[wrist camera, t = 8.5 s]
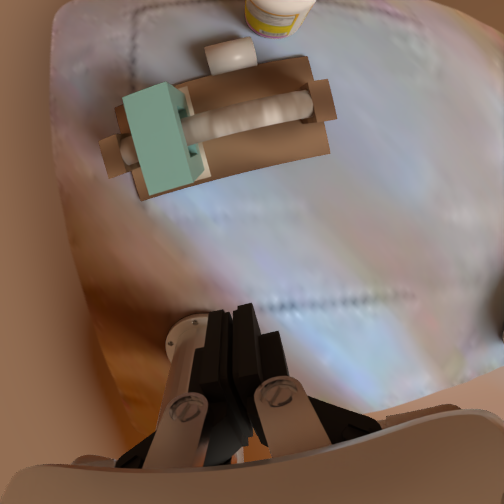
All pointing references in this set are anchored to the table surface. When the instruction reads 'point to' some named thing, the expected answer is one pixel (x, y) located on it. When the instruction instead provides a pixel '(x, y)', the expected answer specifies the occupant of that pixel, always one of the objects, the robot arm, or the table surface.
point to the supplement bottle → (276, 16)
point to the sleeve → (231, 55)
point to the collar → (162, 137)
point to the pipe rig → (240, 122)
